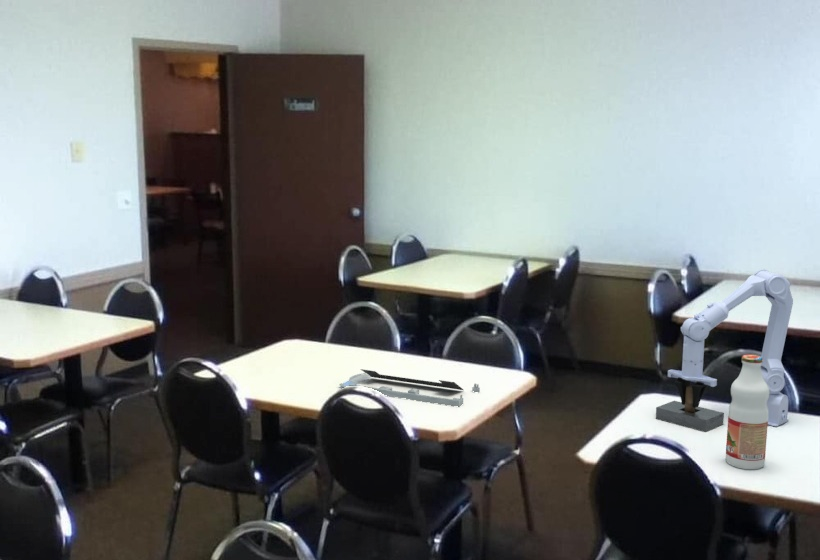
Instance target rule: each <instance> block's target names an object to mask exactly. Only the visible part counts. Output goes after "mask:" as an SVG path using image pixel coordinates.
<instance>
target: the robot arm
mask: <svg viewBox="0 0 820 560" xmlns="http://www.w3.org/2000/svg"><path fill="white" fill-rule="evenodd" d="M790 288H791V283H790V281H789V280H788V279H787V278H786V277H785V276H784V275H783V274H779V273H775V272H771V271H769V270H766V269H759V270H757V271H756V272H755V273H754V274H752V275H750V276H748V277H747V278H746V280H745V281H744V282H743V283H742V284H741V285H740V286H739V287H737V288H736V289H735V290H734V291H733V292H731V293H730V294H729V295H728V296H727V297H725V298H724V299H723V300H722V301H713V302H709V303H708V304H707V305H706V306H707V307H705V308H704V309H703V310H702V311H700V312H699V313H695V314H694V315H693V316H694V317H689V318H687V319H685V320H684V321H683V324H682V325H681V326H680V332H681V333H682V335H683V344H682V345H683V346H682V362H681V370H679V369H678V370H676V369H668V370H667V377H668V378H675V379H676V380H675V381H674V384H675V385H676V389H677V390H678V393H679V397H680V402H682V405H685V393H686V386H688V385H691V382H693V383H692V385H691V386H692V390H693V407H694V408H696V407H700V402H701V399H702V397H703V395H704V392H705V391H706V389H707V388H708V386H710V387H712V388H714V387H716V386H717V385H718V382H717V381H718V379H717V378H713V377H710V376H707V375H704V374H703V373H704V371H703V369H704V355H705V354H704V353H705V339H707V338H708V336H709V334H710V332H711V330H713V329H714V328H715V327H717V326H718V325H719V324H721V323H722V322H724V321H725V320H726V319H728V317H729V313H730V311H732V310H733V309H735V308H736V307H738V306H740V305H741V304H742V303H744V302H746V301H747V300H748V299H750V298H751V297H765V298H766V299H767V300H768V302H769V303H770V304H771V307H770V311H769V317H768V322H767V327H766V331H765V337H764V341H763V346H762V350H761V355H760V356H761V357H762V358H763V362H762V365H761V372H762V376H763V379H764V381H765V382H766V384H767V385H768V387H769V398H768V400H767V404H766V405H767V408H768V426H772V427H778V426H781V425H782V424H783V425H784V424H785V423H787V422H789V419H788V414H789V397H788V395H786V394H783V393H782V392H781V391H782V390H783V388H785V385H786V380H785V376H784V374H785V368H784V365H783V363H782V356H783V352H784V347H785V342H786V337H787V332H788V328H789V323H790V319H791V314H792V310H793V305H794V298H793V296H792V295H793V294H792V292H791V289H790Z"/></svg>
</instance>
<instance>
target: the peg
mask: <svg viewBox="0 0 820 560" xmlns="http://www.w3.org/2000/svg"><path fill="white" fill-rule="evenodd" d="M684 411H685V412H689V413H695V408H694V407H693V390H692V385H691V384H690V385H688V386H686V393H685V410H684Z"/></svg>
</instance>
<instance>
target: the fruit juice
mask: <svg viewBox="0 0 820 560" xmlns="http://www.w3.org/2000/svg"><path fill="white" fill-rule="evenodd" d="M762 362H763V358H762V357H761V355H758V354H743V355H741V363H742V366H741V370H740V373H739V375H738V376H737V378H735V380H734V381H733V382H732V383H731V387H730V397H731V402H730V403H729V406H728V413H727V415H728V416H727V430H726V431H727V432H726V445H725V446H726V447H725V461H726V463H727V464H728V465H729V466H731V467H732V466H733V467H734V468H739V469H743V470H758V469H762V468H763V467H764V465H765V462H766V451H767V439H768V438H767V437H768V426H769V425H768V408H767V405H766V404H767V400H768V398H769V387H768V385H767V384H766V382H765V381H764V379H763V376H762V372H761V365H762Z"/></svg>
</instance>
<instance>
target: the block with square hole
mask: <svg viewBox="0 0 820 560" xmlns="http://www.w3.org/2000/svg"><path fill="white" fill-rule="evenodd" d="M684 410H685V405H682V402H681V401H677V400H672V401H670V402H669V401H668V402H666V403H665V404H661V405H659V406H656V408H655V419H656V420H659V421H663V422H667V423H671V424H674V425H678V426H682V427H685V428H689V429H692V430H696V431H699V432H703V433H706V432H709V431H712V430H714V429H716V428H719V427H720V426H723V425H724V418H725V417H724V416H725V412H723V411H717V410H713V409H710V408H705V407H701V406H698V407H696V408H695V413H689V412H685V411H684Z"/></svg>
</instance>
